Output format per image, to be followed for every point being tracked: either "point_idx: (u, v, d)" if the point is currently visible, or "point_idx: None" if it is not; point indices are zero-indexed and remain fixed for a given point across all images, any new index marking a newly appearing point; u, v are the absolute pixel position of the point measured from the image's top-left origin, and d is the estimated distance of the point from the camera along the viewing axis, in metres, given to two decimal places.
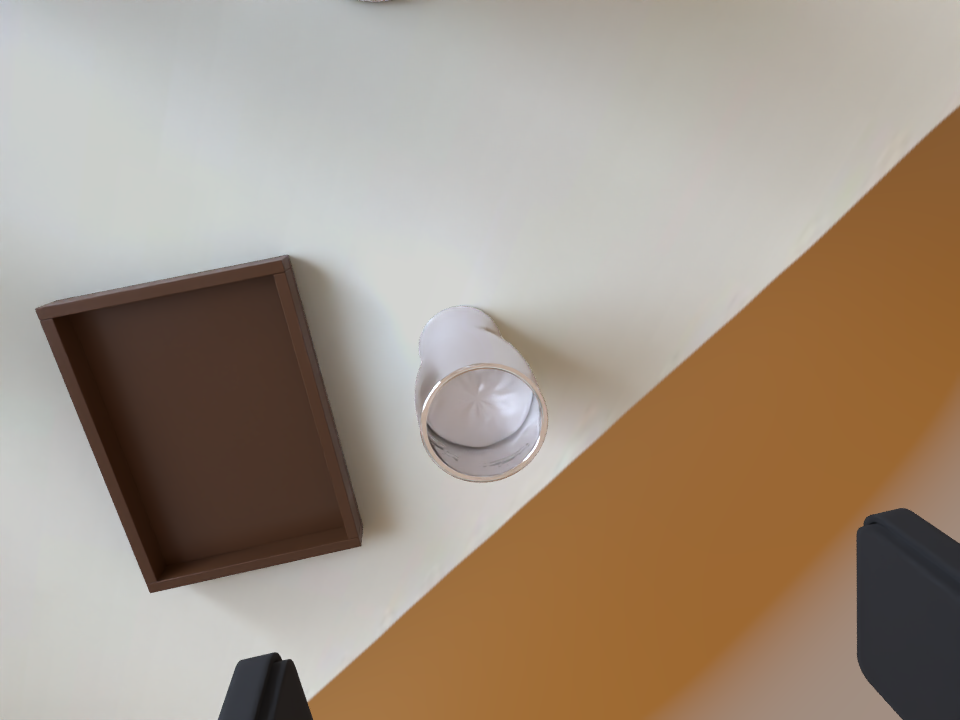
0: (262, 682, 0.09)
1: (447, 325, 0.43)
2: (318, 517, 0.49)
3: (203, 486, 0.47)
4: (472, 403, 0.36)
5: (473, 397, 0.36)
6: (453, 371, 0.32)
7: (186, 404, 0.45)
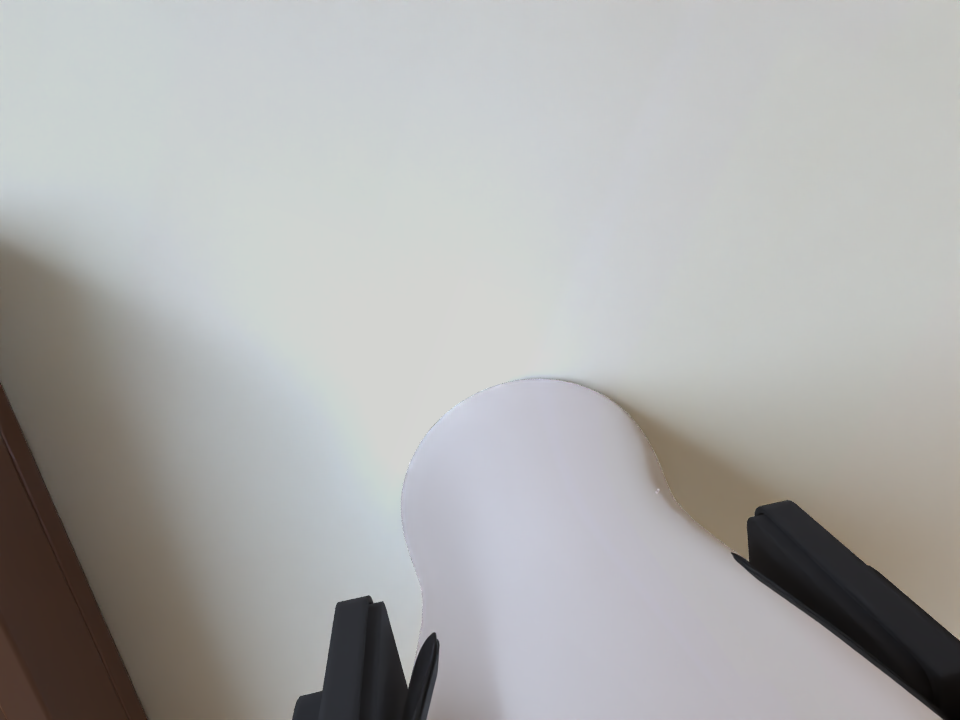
0: (363, 619, 0.10)
1: (505, 473, 0.11)
2: None
3: None
4: None
5: None
6: None
7: None
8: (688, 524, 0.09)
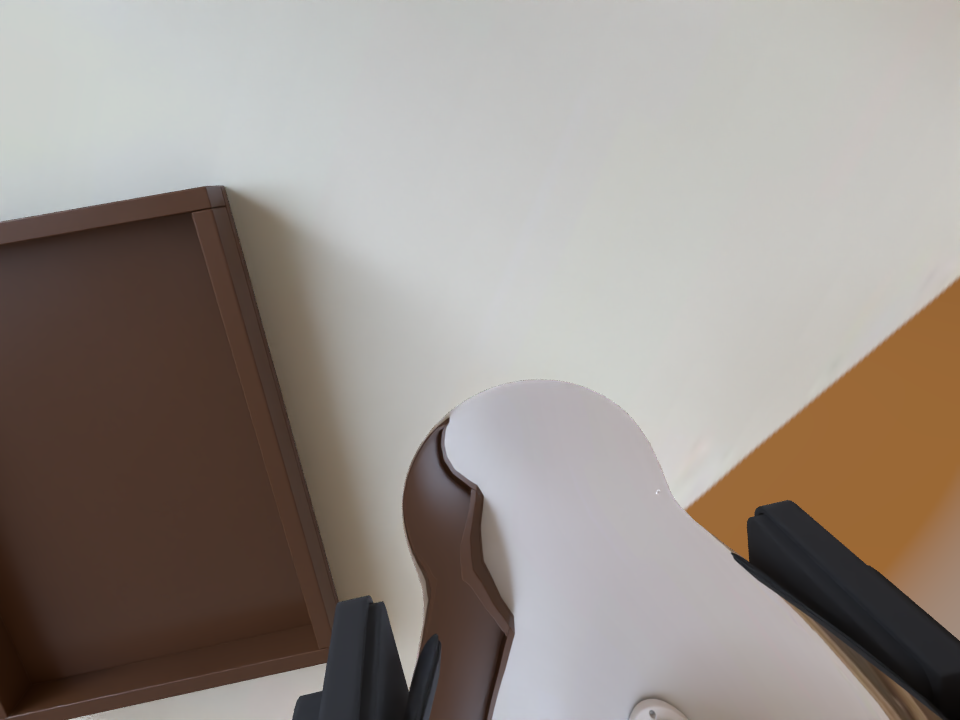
0: (364, 618, 0.10)
1: (506, 473, 0.11)
2: (274, 610, 0.31)
3: (87, 563, 0.29)
4: None
5: None
6: None
7: (55, 431, 0.28)
8: (689, 525, 0.09)
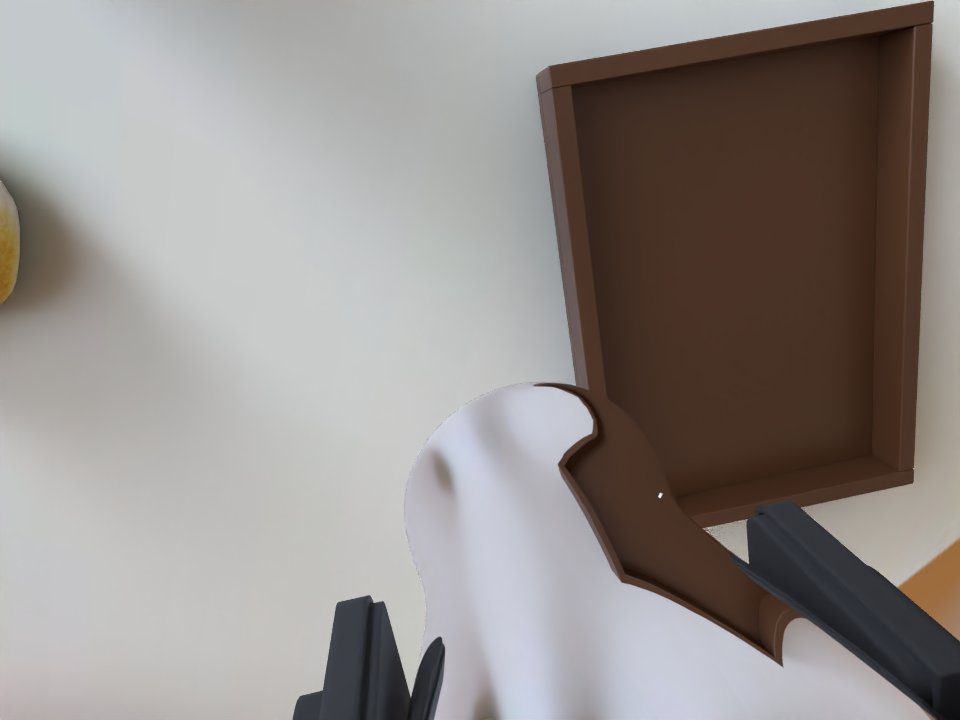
0: (364, 618, 0.10)
1: (508, 477, 0.11)
2: (832, 442, 0.33)
3: (687, 389, 0.31)
4: None
5: None
6: None
7: (695, 256, 0.29)
8: (691, 529, 0.09)
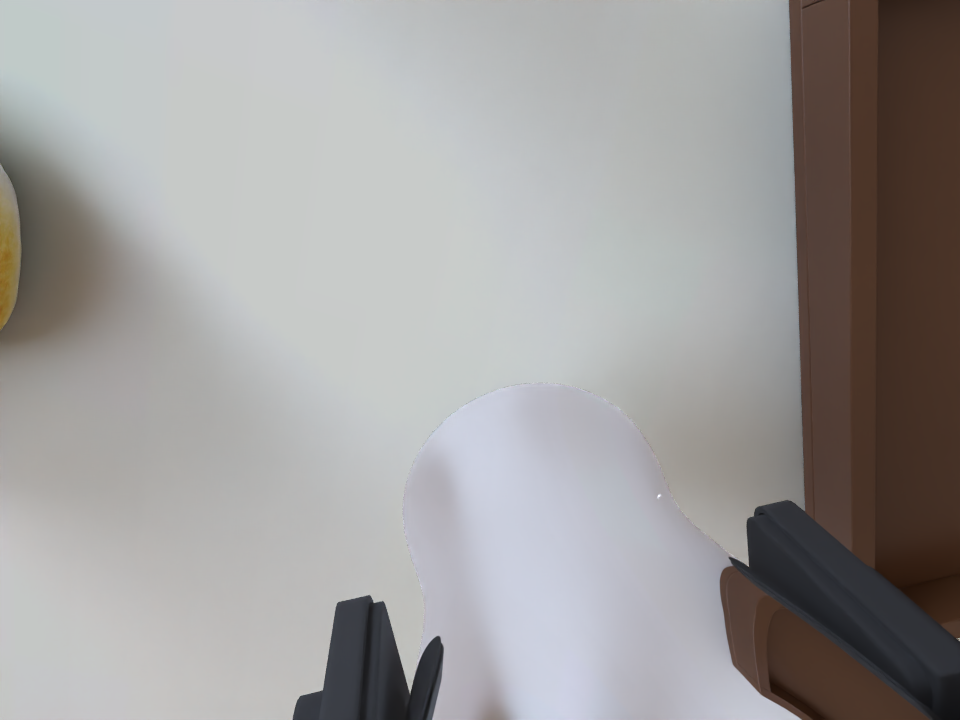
0: (364, 618, 0.10)
1: (507, 478, 0.11)
2: None
3: (958, 437, 0.22)
4: None
5: None
6: None
7: None
8: (690, 531, 0.09)
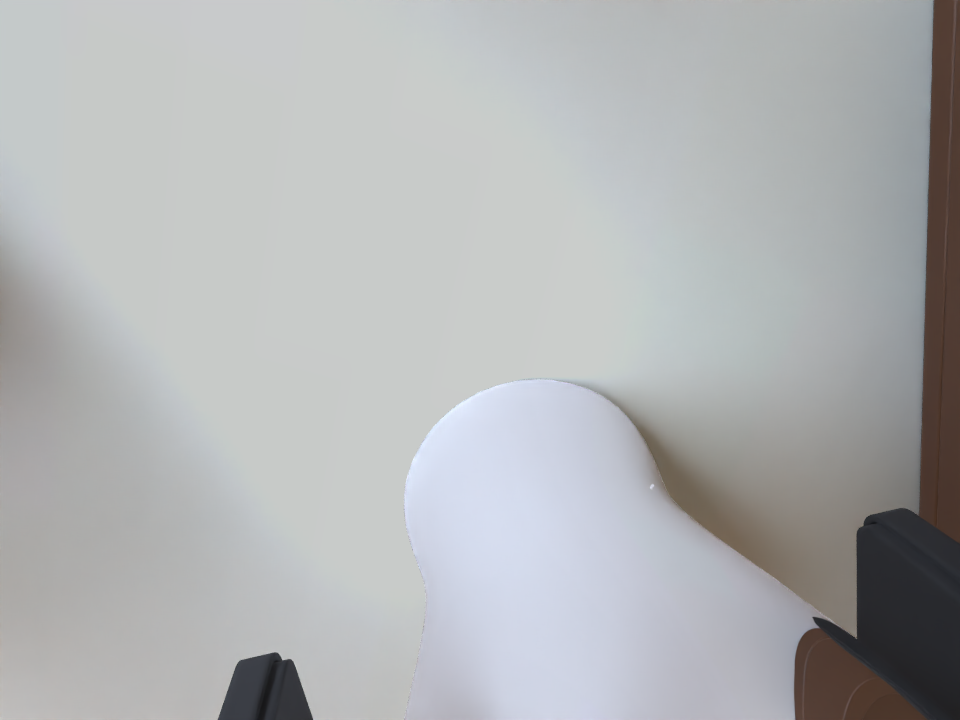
0: (262, 682, 0.09)
1: (505, 469, 0.12)
2: None
3: None
4: None
5: None
6: None
7: None
8: (680, 517, 0.10)
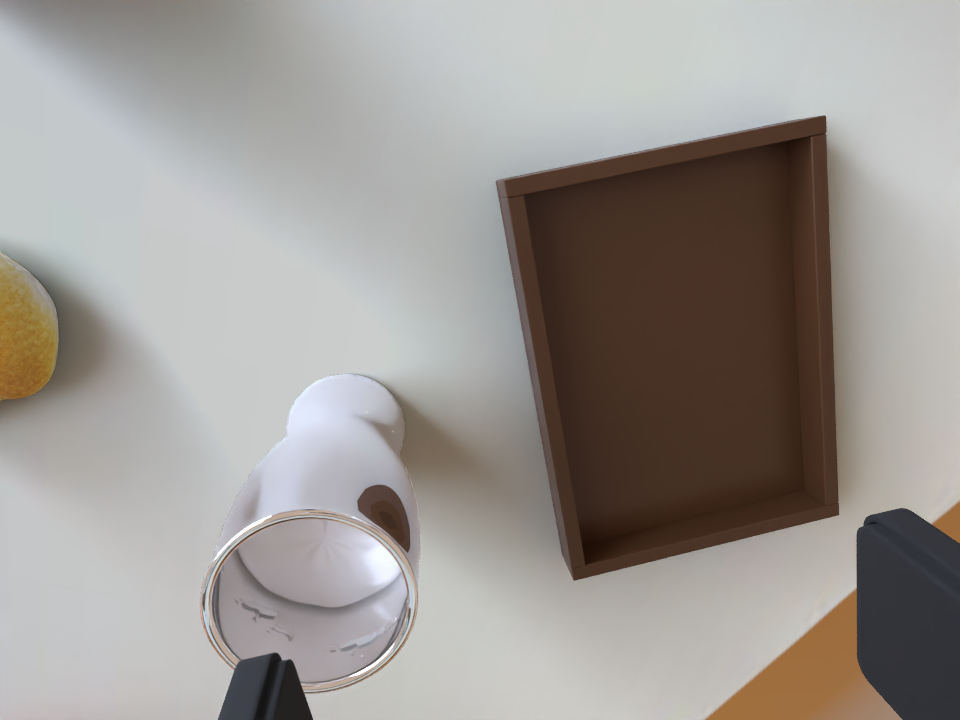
0: (262, 682, 0.09)
1: (313, 407, 0.30)
2: (768, 480, 0.38)
3: (638, 438, 0.36)
4: (318, 546, 0.24)
5: (319, 537, 0.23)
6: (249, 526, 0.19)
7: (639, 325, 0.34)
8: (360, 417, 0.28)
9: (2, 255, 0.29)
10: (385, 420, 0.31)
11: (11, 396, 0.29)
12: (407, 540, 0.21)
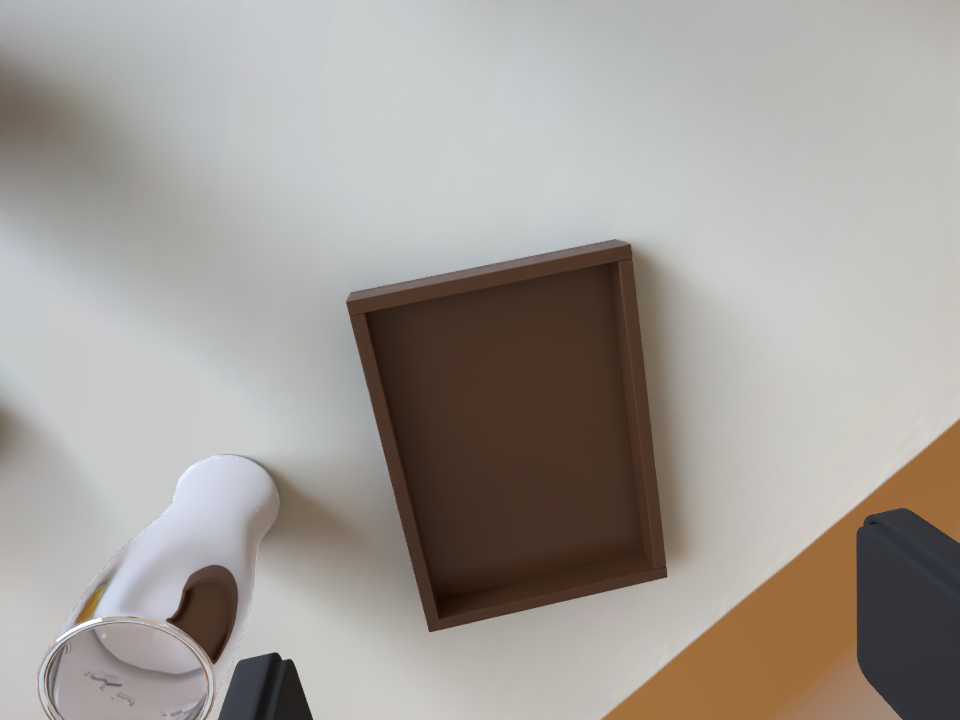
0: (262, 682, 0.09)
1: (186, 491, 0.35)
2: (610, 543, 0.42)
3: (489, 509, 0.41)
4: None
5: None
6: (72, 629, 0.24)
7: (483, 414, 0.39)
8: (217, 506, 0.33)
9: None
10: (250, 501, 0.36)
11: None
12: (212, 633, 0.26)
